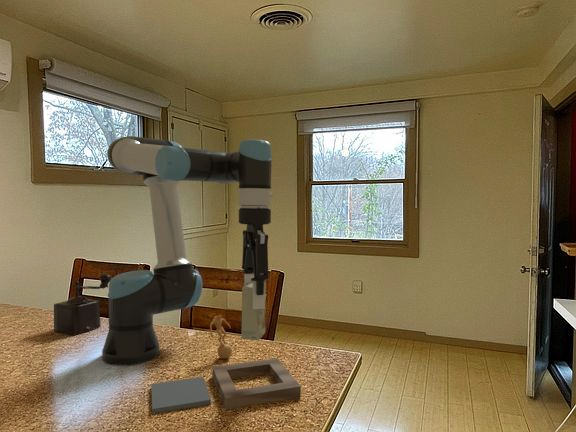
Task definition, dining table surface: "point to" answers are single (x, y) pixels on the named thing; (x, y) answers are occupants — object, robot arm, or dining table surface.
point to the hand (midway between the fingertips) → (254, 304)
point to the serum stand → (254, 395)
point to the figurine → (223, 349)
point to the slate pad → (179, 394)
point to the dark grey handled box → (79, 311)
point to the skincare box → (252, 315)
